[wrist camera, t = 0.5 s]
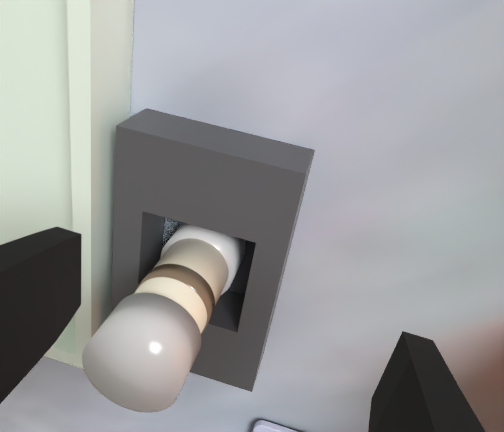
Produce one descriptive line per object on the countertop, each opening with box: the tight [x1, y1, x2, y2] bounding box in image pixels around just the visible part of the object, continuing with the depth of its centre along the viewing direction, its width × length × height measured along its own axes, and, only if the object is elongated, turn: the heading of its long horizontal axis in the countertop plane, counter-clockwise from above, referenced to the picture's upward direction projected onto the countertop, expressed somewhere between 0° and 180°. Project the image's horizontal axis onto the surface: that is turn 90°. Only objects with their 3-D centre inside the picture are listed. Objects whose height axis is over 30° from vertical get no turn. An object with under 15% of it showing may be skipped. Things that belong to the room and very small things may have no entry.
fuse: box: [82, 223, 245, 412], centre depth 18 cm, size 3×3×8 cm
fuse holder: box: [111, 109, 315, 392], centre depth 20 cm, size 11×7×2 cm, turn 170°
